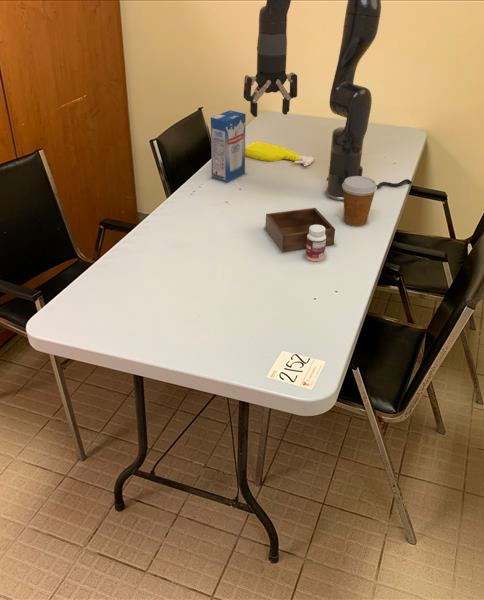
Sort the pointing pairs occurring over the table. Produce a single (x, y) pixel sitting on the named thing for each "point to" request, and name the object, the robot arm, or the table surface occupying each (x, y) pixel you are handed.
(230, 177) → the milk carton
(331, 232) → the wooden box
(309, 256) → the pill bottle
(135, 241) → the table surface
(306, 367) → the table surface
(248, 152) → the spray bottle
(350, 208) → the disposable coffee cup
